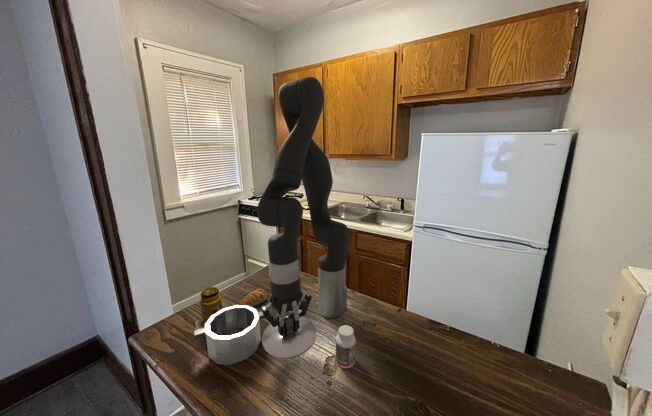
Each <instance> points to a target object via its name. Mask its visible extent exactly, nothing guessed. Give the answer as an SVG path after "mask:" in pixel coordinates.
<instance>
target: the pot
mask: <svg viewBox="0 0 652 416" xmlns="http://www.w3.org/2000/svg"><path fill="white" fill-rule="evenodd" d="M264 319H267V318H266V317H265V316H264V315H263V313H262V310H261V311H258V310H257V309H256V308H254V307H253V306H252V307H250V306H246V305H241V304H240V305H239V304H235V305H232V306H228V307H224V308H222V310H220V311H218V312H217V313H215V314H213V315H212V316H211V317H210V318H209V320H208V321H207V322H206V324H205V328H202V329H199V330H197V329H196V330H194V331H193V332H194V339H195V340H196V339H200V338H203V337H205V340H206V346H207V355H208V359H210V360H211V361H213V362H214V363H215V364H216V365H228V366H229V365H231V366H232V365H234V364H237V363H240V362H242V361H246V360H247V359H248V358H250V357H251V356H252V355H253V354H254V353H255V352H256V351H258V348H259V346H260V343H261V342H262V335H261V334H262V333H261V320H264Z"/></svg>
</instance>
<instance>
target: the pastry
mask: <svg viewBox="0 0 652 416" xmlns="http://www.w3.org/2000/svg"><path fill="white" fill-rule="evenodd" d="M267 299H268V295H267V294H266V292H265V290H264V289H263V288H257V289H254V290H252V291H251V292H249V293H248V294H247V295H246V296H245V297H244V298H243V299H242V300H241V301H240V302H241V303H240V305H246V306H250V307H252V308H253V307H255V306H258V305H261V303H264V302H265V301H267Z"/></svg>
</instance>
